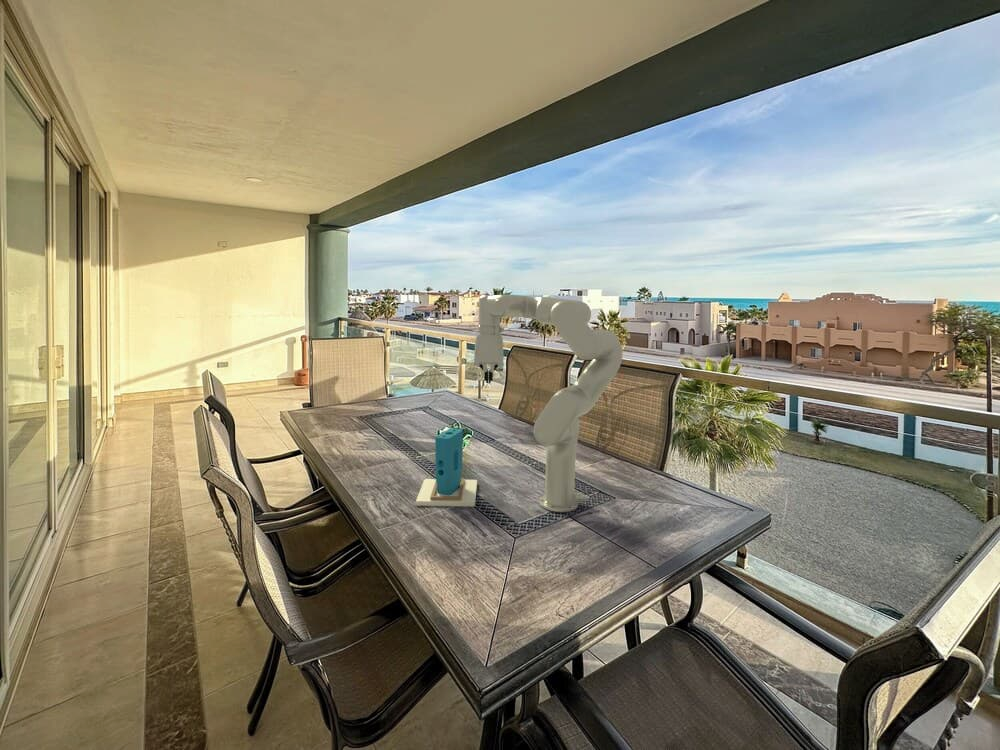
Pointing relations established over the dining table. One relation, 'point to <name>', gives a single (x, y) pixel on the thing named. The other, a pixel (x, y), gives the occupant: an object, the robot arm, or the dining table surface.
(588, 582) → the dining table surface
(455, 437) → the block
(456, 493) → the base board
